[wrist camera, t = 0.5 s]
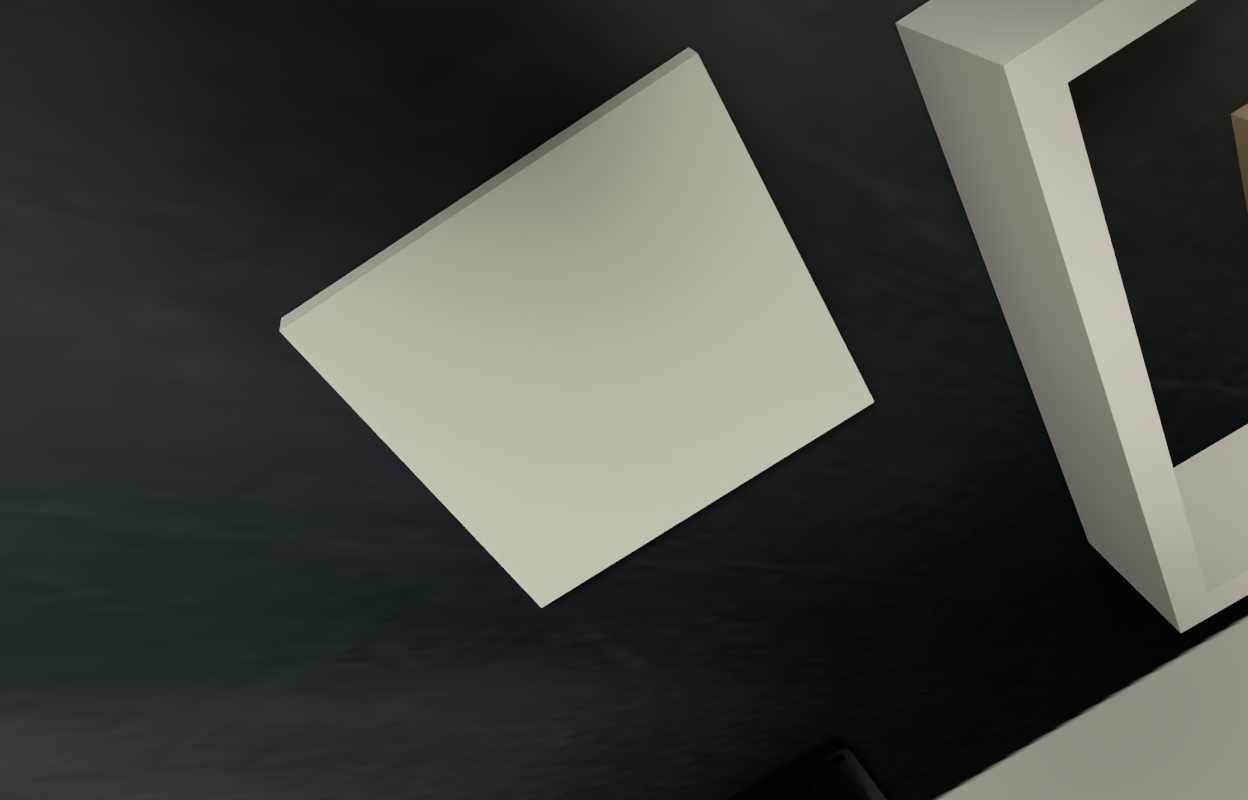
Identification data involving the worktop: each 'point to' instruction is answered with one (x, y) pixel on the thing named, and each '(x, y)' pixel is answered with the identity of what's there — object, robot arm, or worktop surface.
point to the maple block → (1242, 144)
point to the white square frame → (1077, 286)
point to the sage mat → (591, 337)
